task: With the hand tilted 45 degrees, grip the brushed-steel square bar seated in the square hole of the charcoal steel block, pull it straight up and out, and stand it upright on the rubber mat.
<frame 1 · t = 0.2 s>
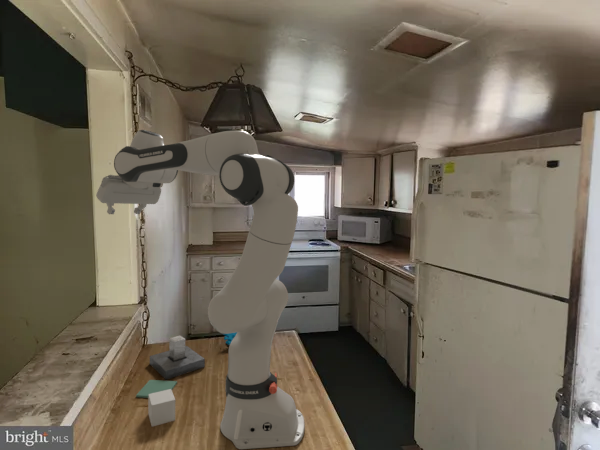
hand: (123, 213, 121), 54 cm above the table, tool tilted 30°, fingers open, 8 cm apart
socket block: (177, 365, 127), on the table
rubber mat: (157, 389, 111), on the table
gear: (234, 345, 146), on the table
steel bar: (177, 352, 127), in the socket block
plain white cube: (161, 418, 98), on the table
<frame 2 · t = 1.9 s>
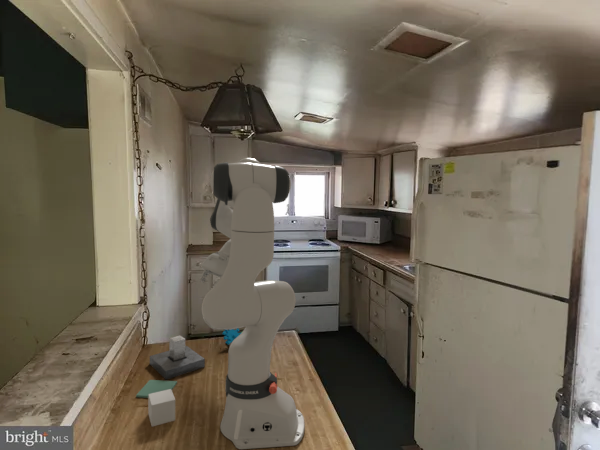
hand: (207, 284, 133), 28 cm above the table, tool tilted 45°, fingers open, 8 cm apart
nothing on the table moved.
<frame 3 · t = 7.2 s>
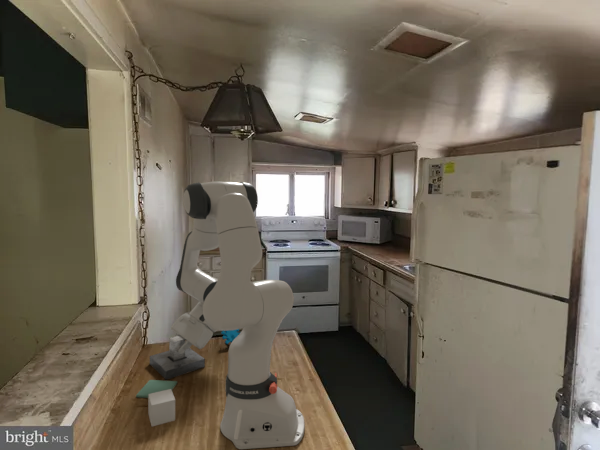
hand: (175, 350, 126), 6 cm above the table, tool tilted 45°, fingers closed on steel bar, 4 cm apart
steel bar: (177, 352, 127), in the socket block, touching gripper
everything else where it was.
when the fingers open (8 cm above the table, at t = 13.0 s): steel bar drops 1 cm, resting on rubber mat.
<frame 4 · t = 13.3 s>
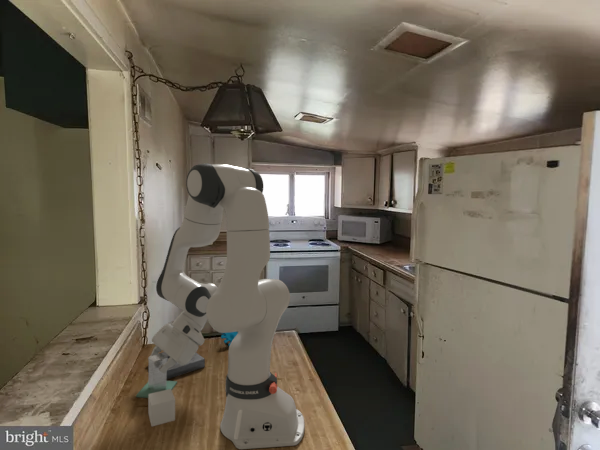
hand: (155, 366, 110), 8 cm above the table, tool tilted 45°, fingers open, 7 cm apart
steel bar: (157, 372, 111), on the rubber mat, point 6 cm above the table
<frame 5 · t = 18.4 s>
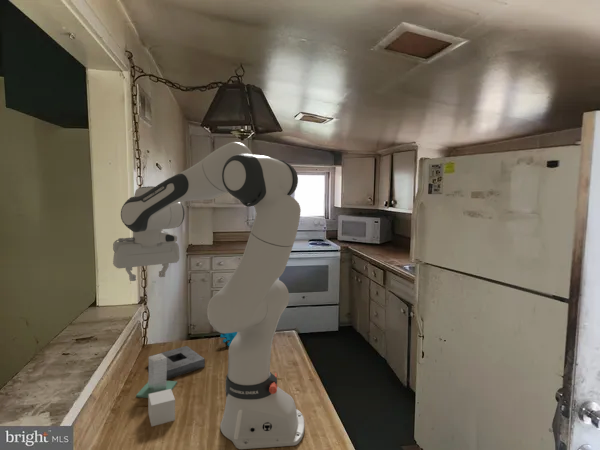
hand: (147, 278, 117), 33 cm above the table, tool pointing down, fingers open, 8 cm apart
at the end: steel bar inside the target area on the rubber mat (0.1 cm from its centre), point 5.6 cm above the rubber mat's base; steel bar tilted 0°; the gripper is holding nothing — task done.
